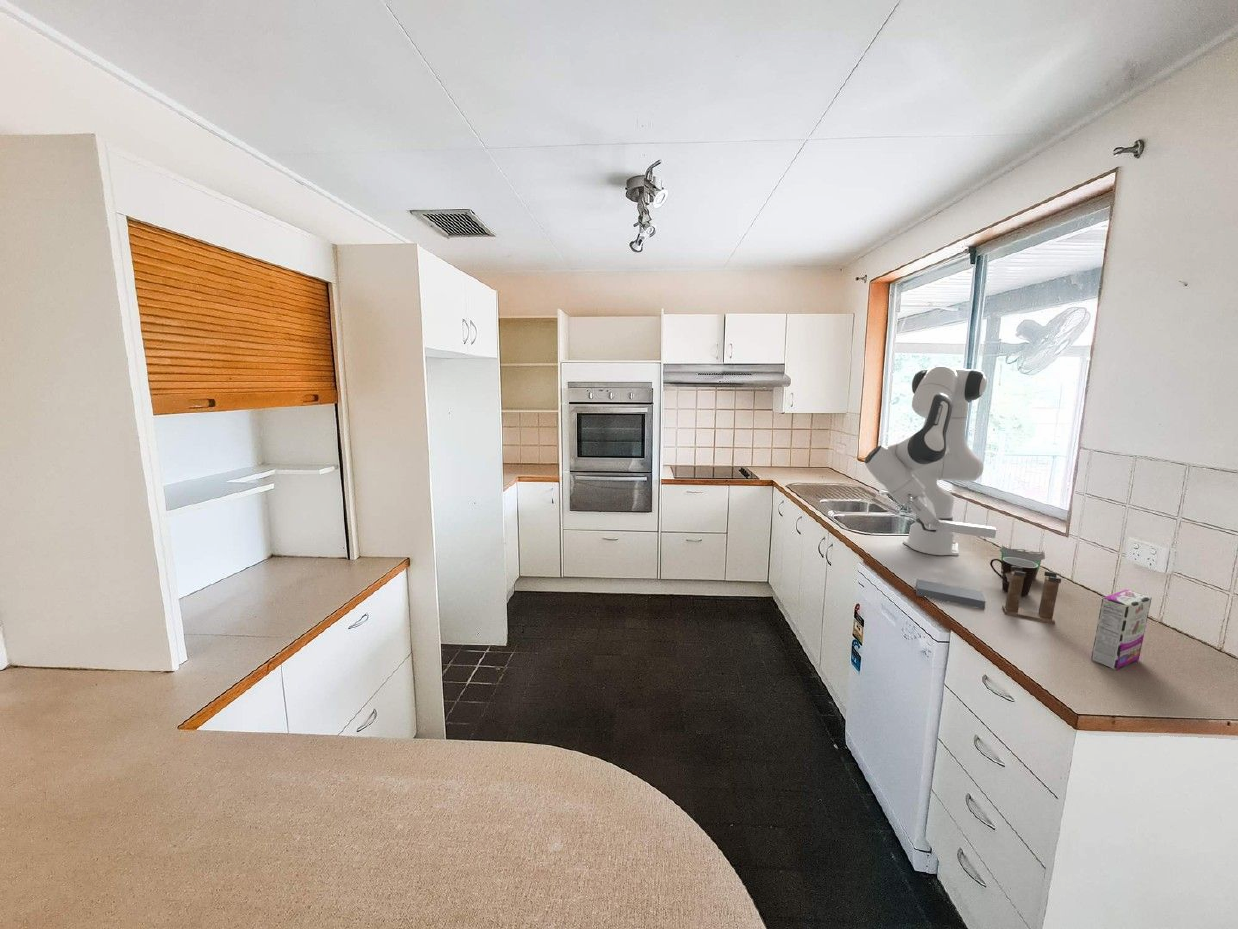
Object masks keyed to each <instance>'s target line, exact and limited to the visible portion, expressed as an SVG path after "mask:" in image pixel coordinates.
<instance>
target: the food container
mask: <svg viewBox="0 0 1238 929" xmlns="http://www.w3.org/2000/svg"><path fill="white" fill-rule="evenodd" d="M999 552H1001V559H1000V560H1001V561H1003V558H1005V557H1014V558H1021V559H1025V560H1029V561H1032V562H1034V563H1036V564H1037V565H1038V568H1037V571H1036V574H1035V577H1034V580H1033V582H1034V581H1036V579H1037V575H1038V573H1039V569H1040V566H1041V563H1042V560H1045V559H1046V555H1045V551H1044V550H1042V551H1040V552H1039V551H1032V550H1027V549H1022V548H1009V547H1006V546H1004V545H1003V544H1002V545H1001V547H1000V549H999ZM1000 573H1001V574H1000V575H1003V565H1002V564H1001V563H1000Z"/></svg>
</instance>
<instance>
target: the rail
mask: <svg viewBox="0 0 1238 929" xmlns="http://www.w3.org/2000/svg"><path fill="white" fill-rule="evenodd" d="M938 521H939V522H941V524H942V525H943V526H944V529H943V530H941V531H947V532H953V533H954V534H955V533H956V534H961V535H962V534H963V535H968V536H969V535H970V536H976V537H983V538H990V539H996V534H997V528H996V527H995V526H989V525H982V524H975V523H967V522H960V521H954V520H953V521H945V520H938ZM929 529H933V530H938V529H937V528H936V527H935V526H933V525H932V524H929Z"/></svg>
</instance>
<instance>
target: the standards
mask: <svg viewBox="0 0 1238 929" xmlns="http://www.w3.org/2000/svg"><path fill="white" fill-rule="evenodd" d="M1022 569H1023V568H1022V567H1016V566H1011V570H1013V571H1011V577H1010V582H1009V588H1008V593H1007V595H1006V601H1005V605H1002V608H1001V609H1002V611H1003V614H1004V615H1008V616H1011V617H1012V616H1013V617H1017V618H1022V619H1028V620H1032V621H1037V622H1042V623H1047V624H1051V625H1055V624H1056V620H1055V619H1054V612H1055V607H1056V602H1057V597H1058V596H1057V595H1058V591H1059V585H1060V584H1061V583H1062V578H1061V577H1057V575H1058V573H1057V572H1052V571H1047V570H1045V571H1044V573H1043V574H1044V576H1045V577H1044V582H1043V586H1042V592H1041V598H1040V603H1039V608H1038V611H1033V610H1028V609H1022V608H1020V604H1021V598H1022V597H1021V592H1022V587H1023V581H1024V577H1025V576H1026V573H1025V572H1022Z"/></svg>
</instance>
